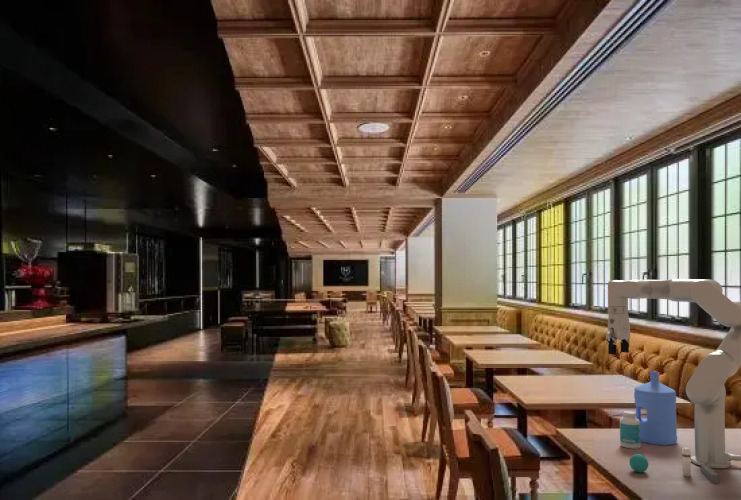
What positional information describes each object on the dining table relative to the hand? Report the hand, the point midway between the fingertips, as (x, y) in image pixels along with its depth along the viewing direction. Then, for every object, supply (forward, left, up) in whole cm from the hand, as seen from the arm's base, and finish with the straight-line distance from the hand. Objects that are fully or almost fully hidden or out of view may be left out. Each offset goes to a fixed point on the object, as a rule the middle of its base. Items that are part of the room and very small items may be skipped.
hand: (618, 353), depth 237 cm
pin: (-15, +33, -36) cm, 52 cm away
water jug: (-15, -11, -37) cm, 41 cm away
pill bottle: (-3, +1, -37) cm, 37 cm away
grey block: (-22, +33, -36) cm, 54 cm away
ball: (0, +33, -34) cm, 47 cm away
